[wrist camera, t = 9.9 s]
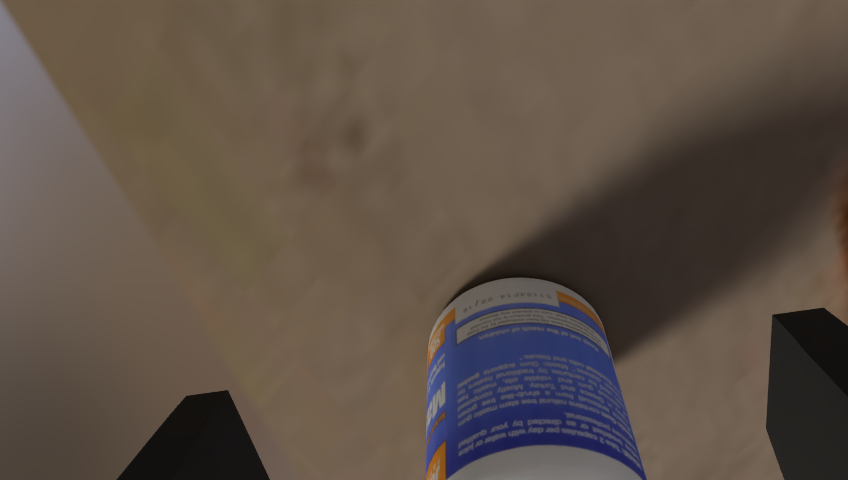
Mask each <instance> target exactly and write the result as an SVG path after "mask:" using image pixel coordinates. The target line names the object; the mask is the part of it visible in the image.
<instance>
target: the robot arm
mask: <svg viewBox="0 0 848 480" xmlns="http://www.w3.org/2000/svg"><path fill="white" fill-rule="evenodd" d="M766 430H767V432H768V435H769V438H770V441H771V444H772V447H773V449H774V452H775V455H776V458H777V461H778V463H779V466H780V469H781V472H782V474H783V477H784V480H848V326H847V325H846V324H844V323H843V322H842V321H840V320H839V319H838V318H837V317H835V316H834V315H833V314H831V313H830V312H829V311H827V310H826V309H825V308H818V309H811V310H804V311H796V312H789V313H782V314H775V315H772V332H771V349H770V367H769V385H768V402H767V420H766ZM117 480H270V479H269V477H268V475H267V473H266V470H265V468H264V466H263V464H262V462H261V460H260V458H259V456H258V453H257V451H256V449H255V447H254V445H253V443H252V441H251V438H250V436H249V434H248V432H247V430H246V428H245V426H244V424H243V421H242V419H241V417H240V415H239V413H238V411H237V409H236V406H235V404H234V402H233V400H232V398H231V396H230V394H229V392H228V390H226V391H219V392H212V393H204V394H197V395H190V396H186V397H185V398H184V399H183V400H182V402H181V403H180V404H179V405H178V406H177V407H176V408H175V410H174V411H173V412H172V413H171V414H170V415H169V417H168V418H167V419H166V420H165V421H164V423H163V424H162V425H161V426H160V427H159V429H158V430H157V431H156V432H155V434H154V435H153V436H152V437H151V438H150V440H149V441H148V442H147V443H146V445H145V446H144V447H143V448H142V450H141V451H140V452H139V453H138V454H137V456H136V457H135V458H134V459H133V461H132V462H131V463H130V464H129V465H128V467H127V468H126V469H125V470H124V472H123V473H122V474H121V475H120V476H119V477H118V479H117Z"/></svg>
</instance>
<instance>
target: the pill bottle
mask: <svg viewBox="0 0 848 480" xmlns="http://www.w3.org/2000/svg"><path fill="white" fill-rule="evenodd" d="M426 480H648V479H647V475H646V472H645V469H644V466H643V462H642V459H641V455H640V452H639V449H638V445H637V442H636V439H635V435H634V432H633V428H632V425H631V422H630V418H629V415H628V412H627V408H626V405H625V401H624V398H623V395H622V391H621V388H620V384H619V381H618V377H617V373H616V370H615V366H614V362H613V359H612V355H611V351H610V348H609V344H608V341H607V338H606V334H605V331H604V328H603V324H602V322H601V320H600V318H599V316H598V315H597V313H596V312H595V310H594V309H593V308H592V306H591V305H590V304H589V303H588V302H587V301H586V300H585V299H583V298H582V297H581V296H580V295H578V294H577V293H575V292H573V291H572V290H570V289H568V288H566V287H564V286H562V285H559V284H556V283H553V282H550V281H546V280H541V279H534V278H506V279H499V280H495V281H491V282H487V283H484V284H482V285H479V286H476V287H474V288H472V289H470V290H468V291H466V292H465V293H463V294H461V295H460V296H459V297H457V298H456V299H455V300H454V301H452V302H451V303H450V304H449V305H448V306H447V307H446V308H445V309H444V311H443V312H442V313H441V315H440V316H439V318H438V319H437V321H436V323H435V325H434V327H433V330H432V333H431V336H430V340H429V346H428V358H427V434H426Z"/></svg>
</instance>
